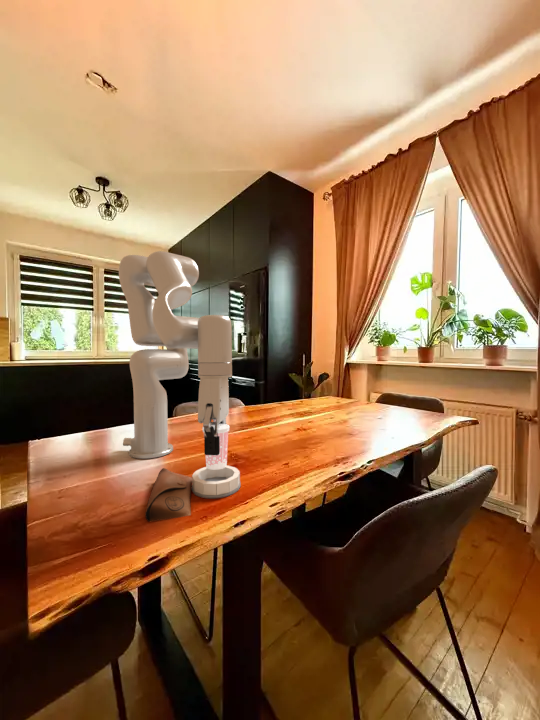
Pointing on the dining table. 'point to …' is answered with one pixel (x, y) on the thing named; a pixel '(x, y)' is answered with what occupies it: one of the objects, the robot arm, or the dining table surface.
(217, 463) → the beverage cup
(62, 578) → the dining table surface
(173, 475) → the sunglasses case
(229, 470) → the cup holder ring
